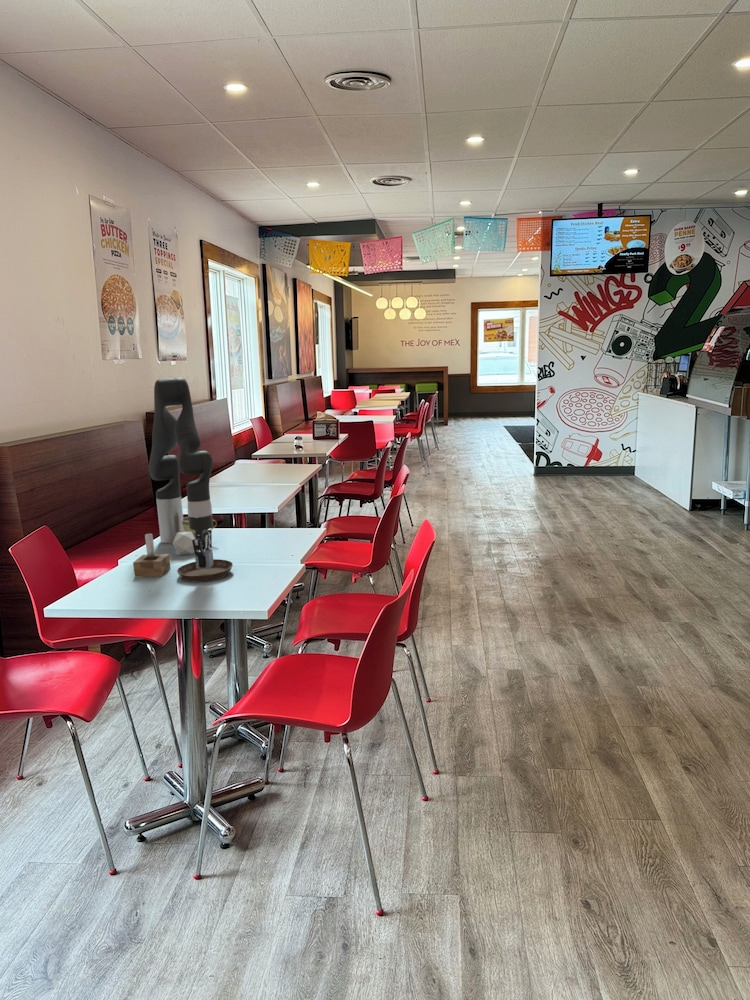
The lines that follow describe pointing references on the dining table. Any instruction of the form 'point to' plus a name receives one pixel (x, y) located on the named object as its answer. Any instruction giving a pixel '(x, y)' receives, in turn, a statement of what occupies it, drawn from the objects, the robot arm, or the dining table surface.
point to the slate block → (208, 559)
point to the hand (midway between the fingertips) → (204, 564)
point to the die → (184, 543)
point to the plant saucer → (205, 571)
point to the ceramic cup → (186, 525)
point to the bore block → (151, 566)
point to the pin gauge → (150, 546)
